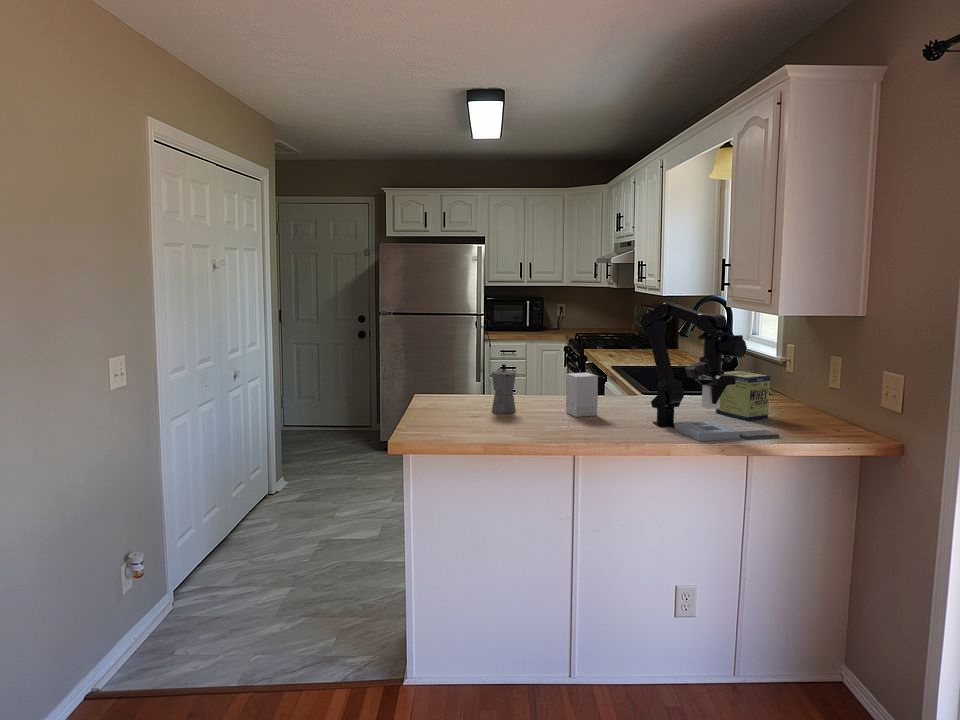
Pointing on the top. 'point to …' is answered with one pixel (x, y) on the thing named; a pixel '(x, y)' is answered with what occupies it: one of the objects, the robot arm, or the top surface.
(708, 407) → the charger
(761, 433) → the phone
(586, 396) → the supplement box
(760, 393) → the protein box
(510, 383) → the coffeepot
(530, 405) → the top surface
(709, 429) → the plate
